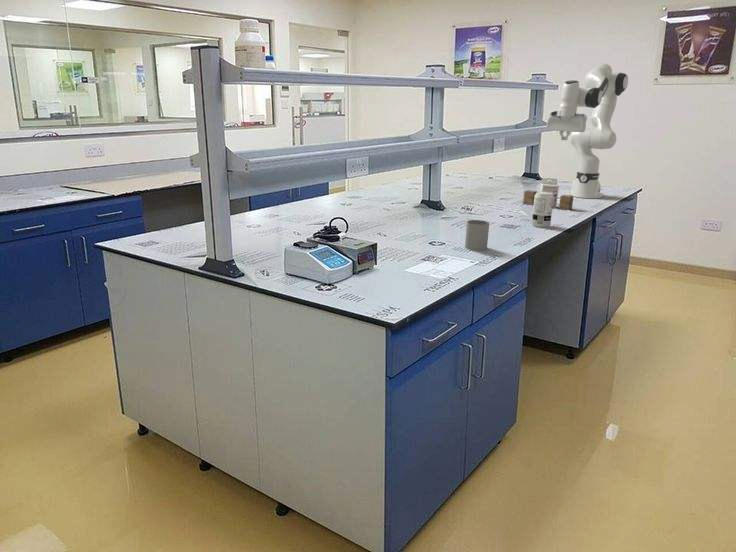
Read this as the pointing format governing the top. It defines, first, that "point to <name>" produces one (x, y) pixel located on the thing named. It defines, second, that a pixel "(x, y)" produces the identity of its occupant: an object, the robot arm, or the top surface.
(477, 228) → the cup
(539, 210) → the supplement can
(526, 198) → the digit block seven
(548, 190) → the ink box
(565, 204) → the digit block one
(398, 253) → the top surface
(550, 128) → the robot arm
